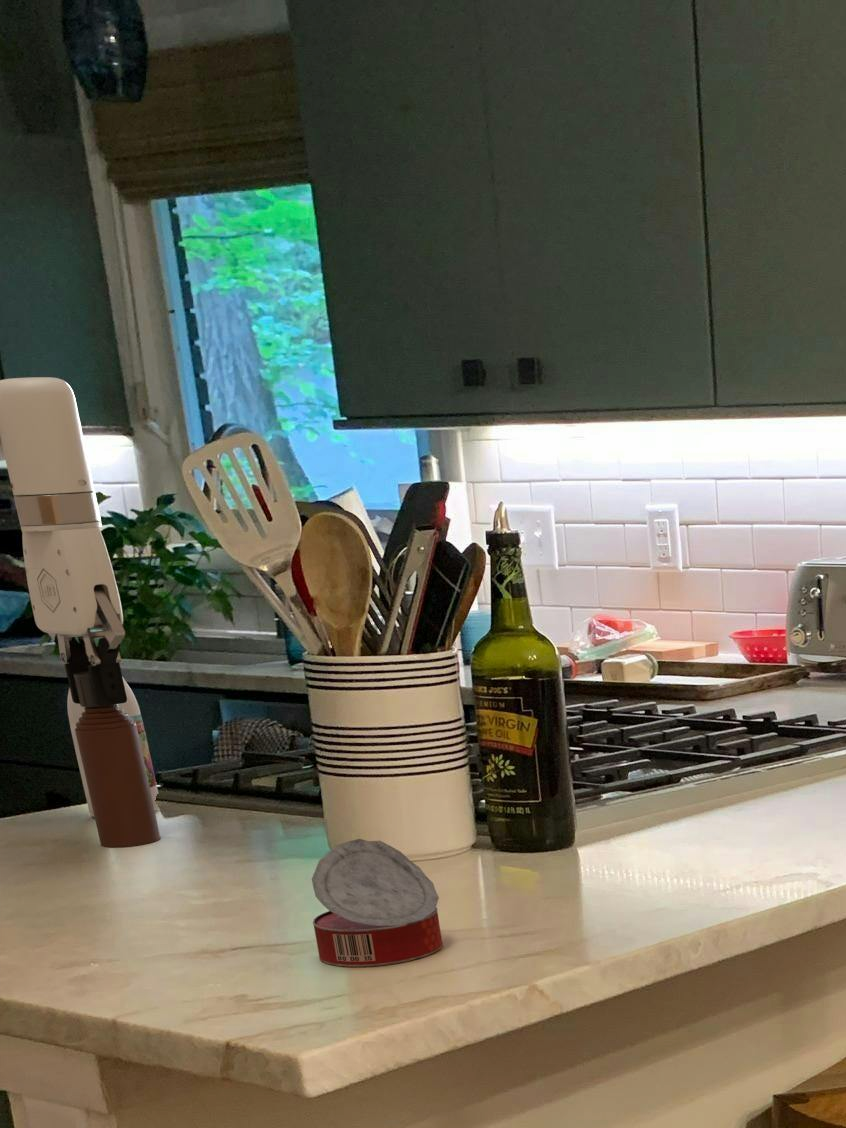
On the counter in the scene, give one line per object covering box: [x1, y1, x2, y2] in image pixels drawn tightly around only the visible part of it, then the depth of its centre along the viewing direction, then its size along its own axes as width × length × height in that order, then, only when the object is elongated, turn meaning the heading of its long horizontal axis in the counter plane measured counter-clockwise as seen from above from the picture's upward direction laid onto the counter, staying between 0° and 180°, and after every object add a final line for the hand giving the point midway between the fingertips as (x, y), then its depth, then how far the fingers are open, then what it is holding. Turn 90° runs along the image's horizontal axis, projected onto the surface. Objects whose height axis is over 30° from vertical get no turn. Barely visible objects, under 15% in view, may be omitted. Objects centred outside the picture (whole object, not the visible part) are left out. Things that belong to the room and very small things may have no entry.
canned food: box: [311, 838, 444, 968], centre depth 157 cm, size 11×10×10 cm
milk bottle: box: [66, 629, 160, 817], centre depth 218 cm, size 8×8×20 cm
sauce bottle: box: [75, 704, 161, 848], centre depth 203 cm, size 6×6×17 cm
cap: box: [74, 671, 115, 707], centre depth 200 cm, size 4×4×3 cm
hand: (100, 701), depth 200 cm, fingers closed on cap, 3 cm apart
